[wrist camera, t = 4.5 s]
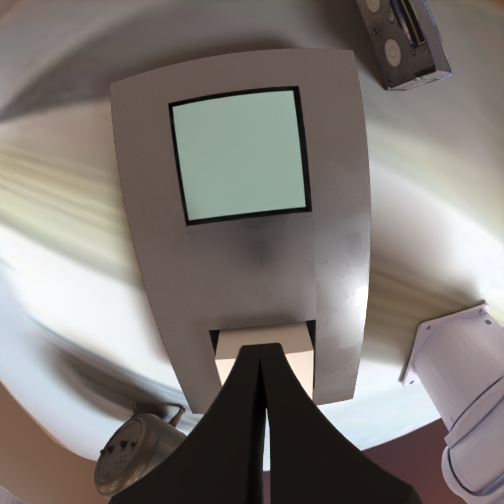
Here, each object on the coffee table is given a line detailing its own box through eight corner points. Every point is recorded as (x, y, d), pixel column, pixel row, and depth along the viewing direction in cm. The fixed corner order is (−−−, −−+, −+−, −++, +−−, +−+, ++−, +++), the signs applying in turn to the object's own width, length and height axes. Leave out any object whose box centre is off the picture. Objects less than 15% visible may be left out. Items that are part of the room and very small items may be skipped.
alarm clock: (145, 436, 26) (115, 544, 11) (109, 412, 24) (66, 522, 9) (203, 411, 23) (181, 560, 8) (159, 382, 22) (111, 541, 7)
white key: (301, 309, 17) (313, 350, 13) (303, 366, 18) (311, 408, 15) (222, 317, 17) (214, 359, 13) (234, 372, 19) (231, 415, 15)
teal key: (282, 106, 14) (292, 90, 10) (292, 193, 15) (305, 206, 11) (192, 118, 14) (172, 107, 10) (204, 203, 15) (189, 220, 12)
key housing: (331, 70, 14) (352, 50, 10) (340, 364, 21) (352, 398, 17) (139, 96, 14) (109, 83, 10) (200, 378, 22) (192, 413, 18)
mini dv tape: (403, 91, 14) (457, 75, 8) (384, 90, 14) (436, 71, 8) (370, -6, 11) (404, -44, 5) (351, -7, 11) (382, -50, 5)
